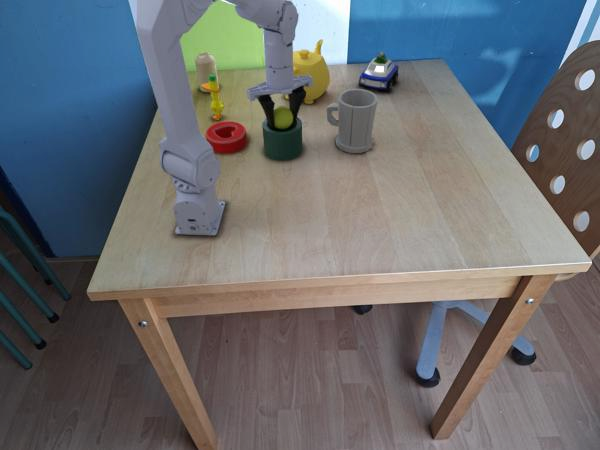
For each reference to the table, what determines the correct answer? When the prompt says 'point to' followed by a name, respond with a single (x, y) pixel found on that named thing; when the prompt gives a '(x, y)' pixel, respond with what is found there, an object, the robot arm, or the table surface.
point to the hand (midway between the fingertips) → (282, 122)
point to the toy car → (380, 73)
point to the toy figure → (214, 96)
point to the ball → (282, 117)
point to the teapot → (312, 71)
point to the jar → (282, 141)
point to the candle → (205, 68)
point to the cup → (354, 119)
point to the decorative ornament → (226, 129)
